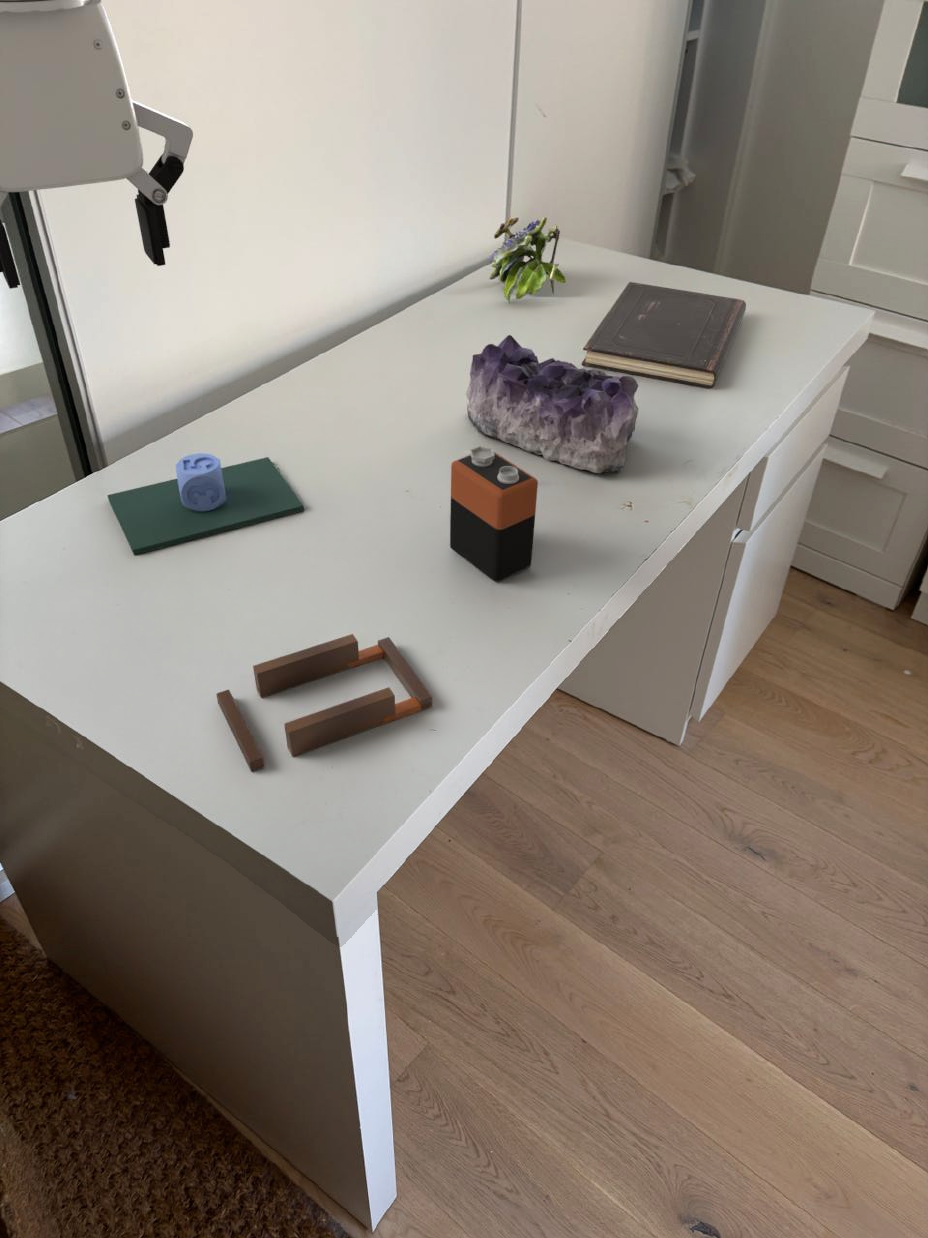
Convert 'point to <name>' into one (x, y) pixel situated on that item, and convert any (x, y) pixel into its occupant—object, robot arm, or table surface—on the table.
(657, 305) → the hardcover book
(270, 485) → the mat
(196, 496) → the decorative dice
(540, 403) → the geode
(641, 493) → the table surface
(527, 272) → the passion flower
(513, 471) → the battery
